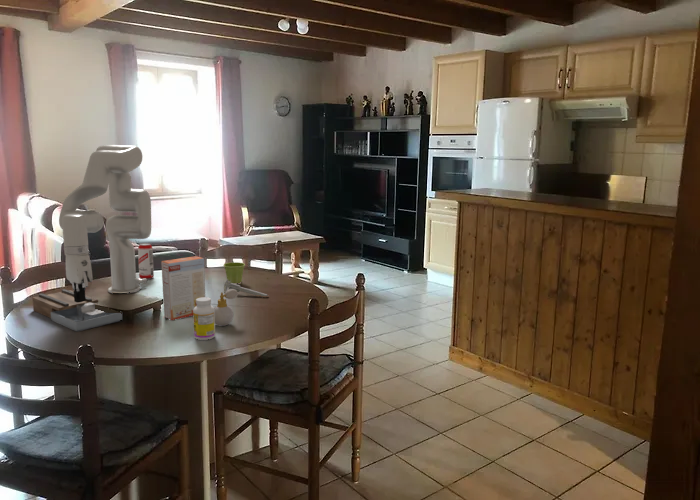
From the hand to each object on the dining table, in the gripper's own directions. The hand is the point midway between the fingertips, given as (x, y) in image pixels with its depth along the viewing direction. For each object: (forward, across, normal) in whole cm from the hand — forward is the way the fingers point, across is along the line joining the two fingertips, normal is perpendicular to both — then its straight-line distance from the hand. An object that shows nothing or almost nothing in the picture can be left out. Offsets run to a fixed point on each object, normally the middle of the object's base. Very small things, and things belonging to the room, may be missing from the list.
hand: (80, 301), depth 195 cm
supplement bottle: (+6, -48, -16) cm, 51 cm away
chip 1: (+3, -2, 0) cm, 4 cm away
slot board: (+6, +11, 0) cm, 13 cm away
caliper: (+7, -20, -59) cm, 63 cm away
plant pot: (+6, -1, -69) cm, 69 cm away
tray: (+6, -4, 0) cm, 7 cm away
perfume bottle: (+6, -42, -29) cm, 51 cm away
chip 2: (+3, -8, -1) cm, 8 cm away
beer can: (+6, +35, -48) cm, 60 cm away
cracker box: (+6, -24, -26) cm, 36 cm away
